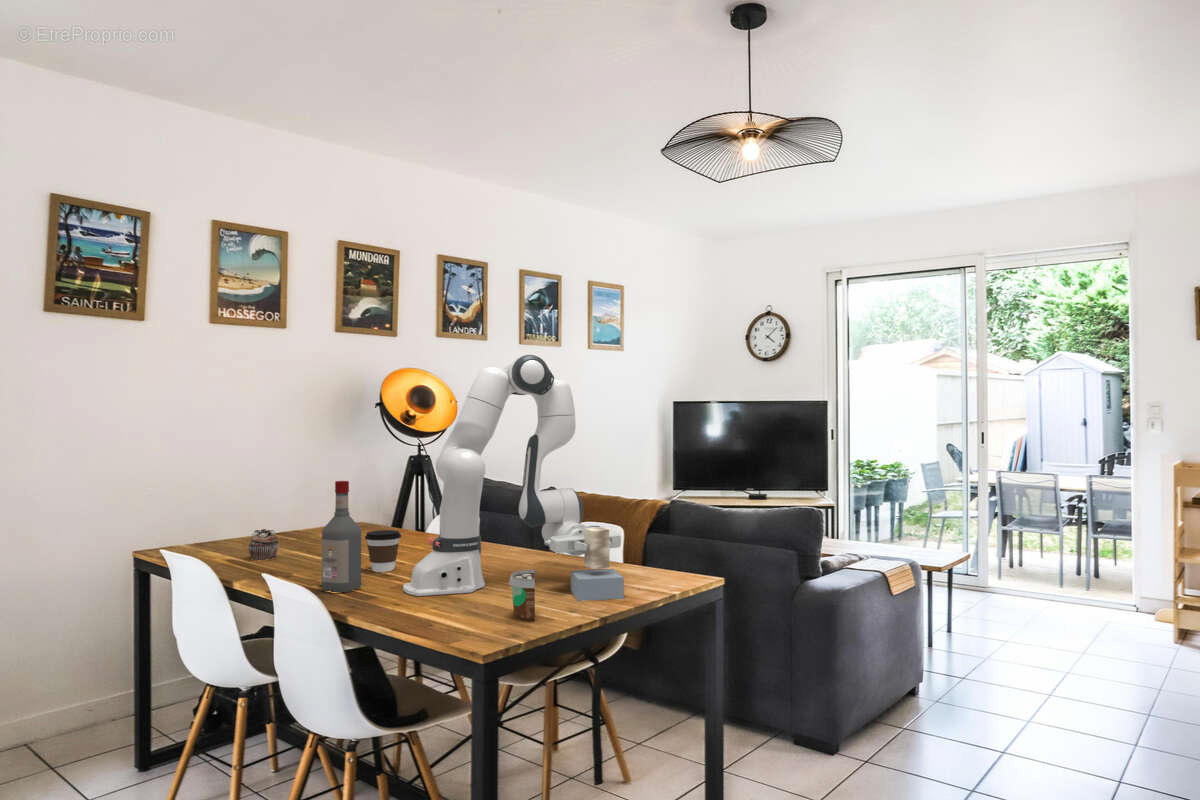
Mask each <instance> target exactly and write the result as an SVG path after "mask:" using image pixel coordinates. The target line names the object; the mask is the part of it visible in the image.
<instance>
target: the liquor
mask: <svg viewBox="0 0 1200 800" xmlns="http://www.w3.org/2000/svg"><path fill="white" fill-rule="evenodd" d="M349 483H350V481H349V480H336V481H335V482H334V492H335V510H334V515H333V516H332V518H331V519H330V520H329V522H328V523H326V525H325V526H324V527H323V529H322V532H321V588H322V591H323V592H324V591H331V592H348V591H351V592H353V591H352V590H355V589H358V588H360V589H361V587H362V529H361V527H360V526H359V525H358V524H357V522H355V519H353V518H352V517H351V515H350V512H349V492H350V484H349ZM358 590H359V589H358ZM355 591H356V590H355ZM348 593H349V592H348Z"/></svg>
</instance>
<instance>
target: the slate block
mask: <svg viewBox="0 0 1200 800" xmlns="http://www.w3.org/2000/svg"><path fill="white" fill-rule="evenodd" d="M624 582H625V578H624V576H622V575H621V574H620V572H619V571H617V570H616V569H615V568H599V569H577V570H576V569H574V570H573V569H571V570H570V593H571V594H572V593H573V594H572V595H573V596H574V598H575V597H576V598H577V599H578V600H577V599H576V598H575V599H576V600H577V602H578V601H581V602H583V601H582V600H600V601H608V600H607V599H620V600H624V599H625V597H624V596H625V594H624V593H625V591H624V589H625V587H624V585H625V584H624Z"/></svg>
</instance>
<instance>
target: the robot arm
mask: <svg viewBox="0 0 1200 800" xmlns="http://www.w3.org/2000/svg"><path fill="white" fill-rule="evenodd" d="M511 395H515V396H516V395H517V396H526V395H528V396H529V395H530V396H531V397H532V399H534V401H535V403H536V408H537V409H536V410H537V411H536V412H537V424H536V429H535V431H534V433H533V435H531V436H529V438H528V440H527V441H528V442H527V444H526V445H527V446H526V451H525V459H524V468H523V477H522V479H523V480H522V488H521V493H520V498H519V503H518V515H519V519H520V520H521V521H522V522H523V523H525V524H526V525H527V526H528V527H530V528H535V527H539V526H540V527H541V526H542V529H541V535H542V539H543V540H544V545H545V546H549V550H550V551H551V552H554V553H556V554H565V553H566V554H568V555H571V556H576V557H577V556H578V557H579V556H582V555H584V551H588V550H590V544H588V543H584V529H587V528H599V527H601V528H605V527H604V526H602V525H587V524H582V522H583V517H584V502H583V500H582V498H581V496H580V495H579V493H578V492H577V491H576V490H575V489H573V488H571V487H569V488H556V489H550V490H547V489H546V490H541V489H540V485H541V484H540V483H541V476H542V475H541V474H542V464H543V461H544V460H545V458H546V457H547V456H548V455H549V454H550V453H552V452H554V451H556V450H557V449H560V448H562V447H564V446H565V445H567V444H568V443H569V442H570V441H571V440H572V439H573V437H574V436H575V433H576V427H577V426H576V425H577V424H576V411H575V409H576V408H575V403H574V399H573V398H574V397H573V393H572V389H571V387H570V384H569V383H568V382H567V381H566V380H563V379H561V378H560V379H559V378H555V377H554V374H553V373H552V371H551V369H549V366H548V365H547V363H546V362H545V360H544V359H542V358H541V357H539V356H537V355H534V354H525V355H522V356H520V357H517V358H515V359H514V360H513V361H512V362H510V364H509V365H507V366H506V367H505V368H503V369H501V368H499V367H495V366H487V367H484V368H481V369H480V371H479V372H478V374H477V375H476V377H475V379H474V380H473V383H472V384H471V386H470V388H469V390H468V392H467V395H466V397H465V400H464V403H463V405H462V406H461V407H462V408H461V410H460V412H459V414H458V418H457V420H456V421H455V424H454V426H453V428H452V430H451V432H450V433H449V436H448V437H447V438H446V441H445V443H444V445H443V447H442V448H441V451H440V453H439V454H438V457H437V458H436V461H435V471H436V474H437V476H438V478H439V479H440V480H441V481H442V482H443V488H442V495H441V502H440V506H439V536H438V537H436V538H434V537H429V538H428V539H427V543H428V545H430V546H432V551H431V552H430V553H428V554H426V556H425V557H424V558H422V559H421V560H420V561H418V562H417V563H416V564H415V565H414V567H413V569H412V572H411V580H410V582H405V583H404V584H403V585H402V590H403V592H405V593H406V594H409V595H410V596H411V595H412V596H416V597H419V596H420V597H421V596H423V597H424V596H436V595H437V596H439V595H451V594H466V593H474V592H475V591H476V590H478V589H481V588H484V587H485V586H486V583H485V580H484V576H483V570H482V564H481V563H482V561H481V554H482V538H481V535H480V507H481V498H482V492H483V485H484V478H485V475H486V465H485V461H484V460H483V458H482V457H481V455H482V454H483V452H484V451H485V448H487V446H488V444H489V442H490V440H491V439H492V438H493V436H494V435H495V431H496V429H497V426H498V423H499V421H500V418H501V415H502V413H503V411H504V408H505V406H506V405H505V404H506V403H507V400H508V399H509V397H510V396H511ZM608 530H609V549H617V548H618V549H619V548H620V547H621V545H622V535H621V534H620V533H619V532H616V531H613V530H610V529H608Z"/></svg>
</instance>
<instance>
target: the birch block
mask: <svg viewBox="0 0 1200 800" xmlns="http://www.w3.org/2000/svg"><path fill="white" fill-rule="evenodd" d="M609 530H610V529H608V528H605V527H604V528H601V527H599V528H587V529H584V543H588V544H590V550H588V551H584V554H583V555H584V557H583V558H584V559H583V560H584V562H583V563H584V565H583V566H584V567H586V568H589V569H590V570H594V569H609V568H611V567H610V566H611V565H610V561H611V559H610V556H611V555H610V553H611V551H610V549H611V548H609Z"/></svg>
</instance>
